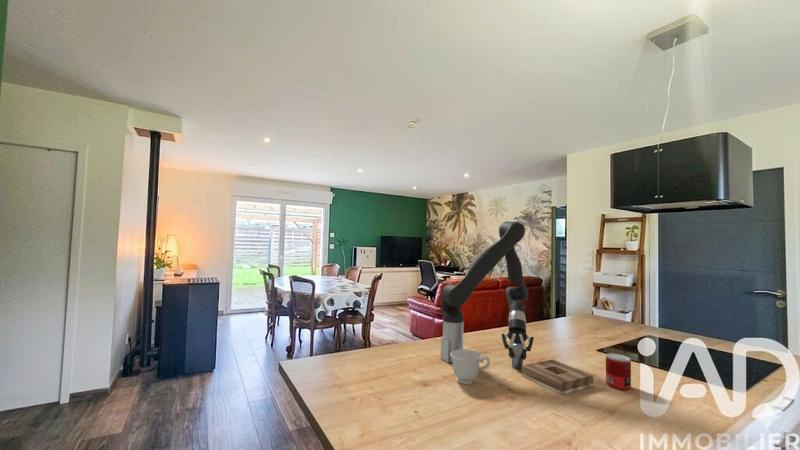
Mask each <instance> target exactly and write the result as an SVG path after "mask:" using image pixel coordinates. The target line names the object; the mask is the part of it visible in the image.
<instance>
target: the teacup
mask: <svg viewBox="0 0 800 450" xmlns="http://www.w3.org/2000/svg"><path fill="white" fill-rule="evenodd" d="M450 355H451V356H452V361H453V362H452V368H453V369H452V370H453V374H454V376H455V377H456V378H457V381H458V382H459V383H461V384H464V385H471V384H473V382H474V380H475V379H476V378H477V377H478V374H479V373H480V372H481V371H483V370H486V369H488V367H489V366H490V364H491V363H490V358H489V357H488V356H482V354H481V352H478V351H475V350H470V349H464V348H463V349H460V350H454V351H452V352H451V353H450ZM484 360H486V361H487V363H486V365H484V366H481V367H480V363H483V362H484Z"/></svg>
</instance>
